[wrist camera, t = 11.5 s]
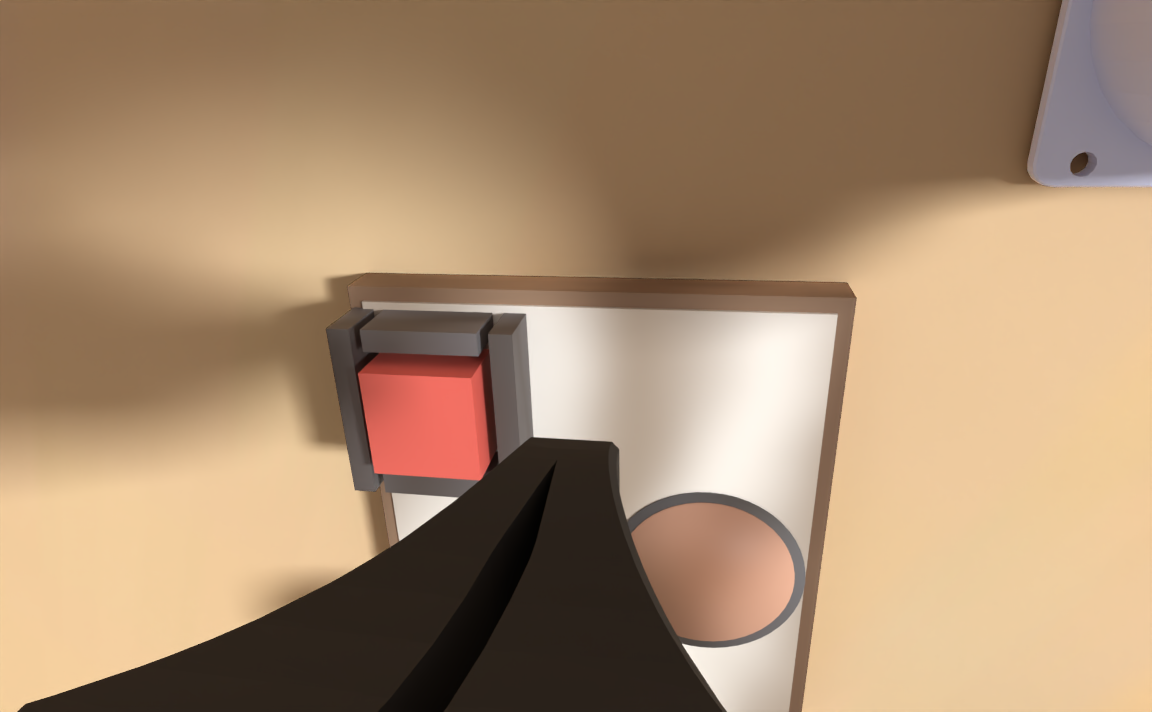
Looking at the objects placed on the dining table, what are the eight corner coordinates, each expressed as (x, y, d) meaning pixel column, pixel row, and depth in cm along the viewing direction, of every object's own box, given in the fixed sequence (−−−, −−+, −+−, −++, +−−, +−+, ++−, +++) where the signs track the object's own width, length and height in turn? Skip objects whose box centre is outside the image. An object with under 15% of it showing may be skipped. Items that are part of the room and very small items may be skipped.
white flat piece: (847, 282, 18) (870, 321, 16) (793, 709, 24) (804, 787, 22) (366, 272, 20) (317, 305, 18) (425, 667, 26) (396, 734, 24)
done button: (491, 349, 19) (471, 378, 17) (499, 445, 20) (480, 480, 18) (387, 345, 19) (357, 373, 18) (400, 439, 20) (374, 473, 19)
